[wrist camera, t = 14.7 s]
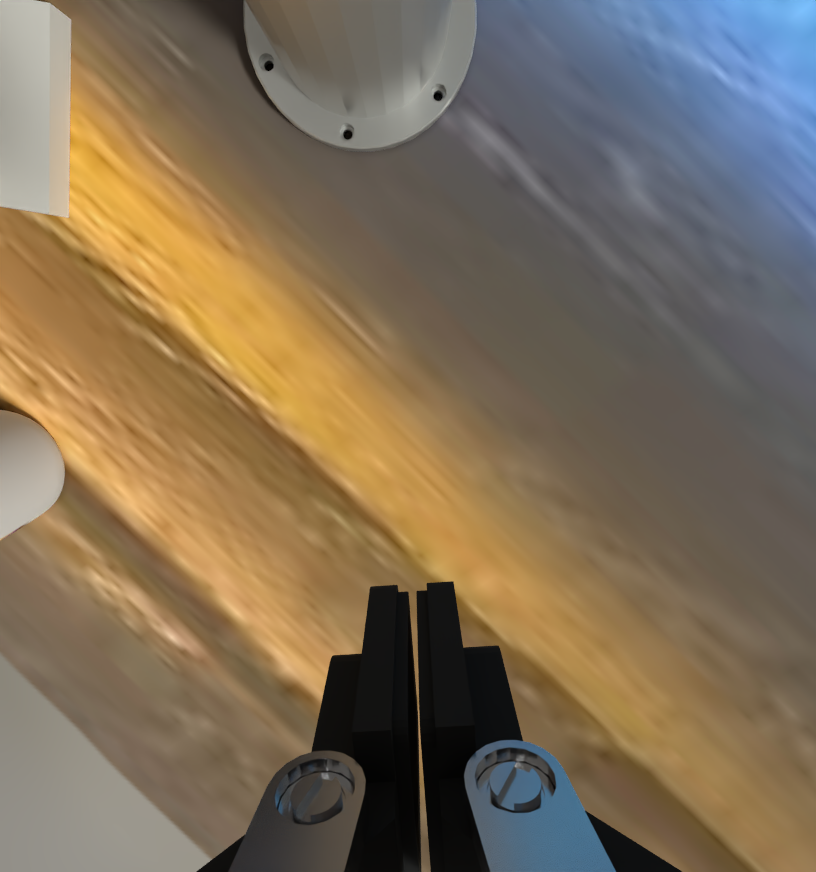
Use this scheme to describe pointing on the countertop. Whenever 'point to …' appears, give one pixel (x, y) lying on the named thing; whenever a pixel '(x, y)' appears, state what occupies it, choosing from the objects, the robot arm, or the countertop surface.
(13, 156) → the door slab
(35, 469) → the milk bottle
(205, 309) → the countertop surface
